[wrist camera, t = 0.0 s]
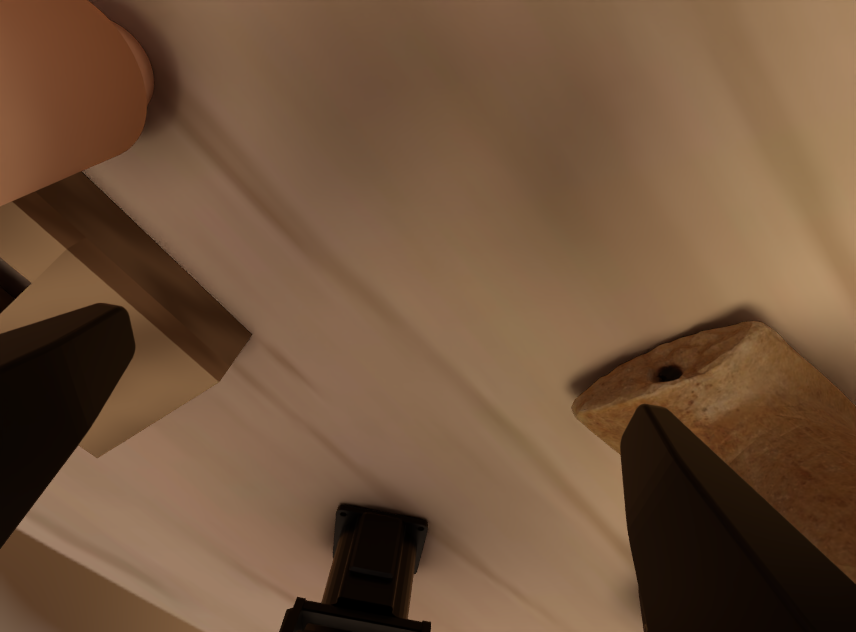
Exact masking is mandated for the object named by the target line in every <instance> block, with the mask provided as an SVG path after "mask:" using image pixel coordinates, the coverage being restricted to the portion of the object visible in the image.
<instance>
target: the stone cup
mask: <svg viewBox="0 0 856 632" xmlns="http://www.w3.org/2000/svg"><path fill="white" fill-rule="evenodd" d="M641 404H651V405H657V406H662V407H665V408H667V409H668V410H669V411H671V412H672V413H673V414H674V415H675V416H676V417H677V418H678V419H679V420H680V421H681V422H682V423H683V424H685V425H686V426H687V427H688V428H689V429H690V430H691V431H692V432H693V433H694V434H695V435H696V436H697V437H699V438H700V439H701V440H702V441H703V442H704V443H705V444H706V445H707V446H708V447H709V448H710V449H711V450H712V451H714V452H715V453H716V454H717V455H718V456H719V457H720V458H721V459H722V460H723V461H724V462H725V463H726V464H728V465H729V466H730V467H731V468H732V469H733V470H734V471H735V472H736V473H737V474H738V475H739V476H740V477H742V478H743V479H744V480H745V481H746V482H747V483H748V484H749V485H750V486H751V487H752V488H753V489H754V490H756V491H757V492H758V493H759V494H760V495H761V496H762V497H763V498H764V499H765V500H766V501H767V502H768V503H770V504H771V505H772V506H773V507H774V508H775V509H776V510H777V511H778V512H779V513H780V514H781V515H782V516H784V517H785V518H786V519H787V520H788V521H789V522H790V523H791V524H792V525H793V526H794V527H795V528H796V529H798V530H799V531H800V532H801V533H802V534H803V535H804V536H805V537H806V538H807V539H808V540H809V541H810V542H811V543H813V544H814V545H815V546H816V547H817V548H818V549H819V550H820V551H821V552H822V553H823V554H824V555H825V556H827V557H828V558H829V559H830V560H831V561H832V562H833V563H834V564H835V565H836V566H837V567H838V568H839V569H841V570H842V571H843V572H844V573H845V574H846V575H847V576H848V577H849V578H850V579H851V580H852V581H853V582H855V583H856V407H855V406H854V404H853V403H852V402H851V401H850V400H849V399H848V398H847V397H846V396H845V395H844V394H843V393H842V392H841V391H840V390H839V389H838V388H837V387H836V386H835V385H834V384H832V383H831V382H830V381H829V380H828V379H827V378H826V377H825V376H823V375H822V374H821V373H820V372H819V371H818V370H817V369H816V368H814V367H813V366H812V365H811V364H810V363H809V362H808V361H806V360H805V359H804V358H803V357H802V356H801V355H799V354H798V353H797V352H796V351H795V350H794V349H793V348H791V347H790V346H789V345H788V344H787V343H786V342H785V340H784V339H783V338H782V337H781V336H780V335H779V334H778V333H777V332H775V331H774V330H773V329H771V328H770V327H768V326H767V325H765V324H764V323H762V322H757V321H748V322H742V323H739V324H736V325H732V326H727V327H722V328H717V329H711V330H706V331H701V332H699V333H698V334H694V335H690V336H687V337H683V338H679V339H677V340H675V341H672V342H670V343H665V344H662V345H659V346H658V347H656V348H655V349H653V350H651V351H650V352H648V353H647V354H643V355H640V356H638V357H636V358H634V359H632V360H630V361H628V362H626V363H624V364H622V365H620V366H618V367H617V368H615V369H614V370H613V371H612V372H610V373H609V374H608V375H606V376H603V377H600V378H599V379H598V380H597V381H596V382H595V383H594V384H593V385H592V386H590V387H589V388H588V389H587V390H586V391H584V392H583V393H582V394H581V395H580V396H579V397H577V398H576V399H575V401H574V403H573V405H572V407H571V408H572V411H573V414H574V415H575V417H576V418H577V419H578V420H579V421H580V422H582V423H583V424H584V425H585V426H586V427H587V428H588V429H589V430H591V431H592V432H593V433H594V434H595V435H597V436H598V437H599V438H600V439H602V440H603V441H604V442H605V443H606V444H608V445H609V446H610V447H611V448H612V449H614V450H615V451H616V452H618V453H619V454H620V455H621V453H620V442H621V438H622V435H623V433H624V431H625V429H626V427H627V425H628V424H629V422H630V420H631V418H632V416H633V414H634V412H635V410H636V409H637V407H638V406H639V405H641Z"/></svg>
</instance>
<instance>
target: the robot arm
mask: <svg viewBox="0 0 856 632" xmlns="http://www.w3.org/2000/svg"><path fill="white" fill-rule="evenodd" d="M135 349H136V344H135V339H134V334H133V330H132V325H131V321H130V317H129V313H128V311H127V310H126V309H125V308H124V307H122V306H118V305H113V304H108V303H96V304H92V305H89V306H86V307H83V308H80V309H77V310H74V311H70V312H67V313H64V314H61V315H58V316H55V317H51V318H48V319H45V320H42V321H39V322H36V323H32V324H29V325H26V326H23V327H20V328H17V329H14V330H10V331H7V332H4V333H1V334H0V549H1V547H2V546H3V545H4V543H5V542H6V541H7V539H8V538H9V537H10V535H11V534H12V533H13V531H14V530H15V529H16V527H17V526H18V525H19V523H20V522H21V521H22V519H23V518H24V517H25V515H26V514H27V513H28V511H29V510H30V509H31V507H32V506H33V505H34V503H35V502H36V501H37V499H38V498H39V497H40V495H41V494H42V493H43V491H44V490H45V489H46V487H47V486H48V485H49V483H50V482H51V481H52V480H53V478H54V477H55V476H56V474H57V473H58V472H59V470H60V469H61V468H62V466H63V465H64V464H65V462H66V461H67V460H68V458H69V457H70V456H71V454H72V453H73V452H74V450H75V449H76V448H77V446H78V445H79V444H80V442H81V441H82V439H83V438H84V437H85V435H86V434H87V432H88V431H89V430H90V428H91V427H92V425H93V423H94V422H95V420H96V419H97V417H98V416H99V414H100V412H101V410H102V409H103V407H104V405H105V404H106V402H107V400H108V399H109V397H110V395H111V394H112V392H113V390H114V389H115V387H116V385H117V384H118V382H119V380H120V379H121V377H122V375H123V374H124V372H125V370H126V369H127V367H128V365H129V364H130V362H131V360H132V358H133V356H134V354H135ZM620 453H621V465H622V476H623V488H624V500H625V511H626V521H627V530H628V536H629V541H630V547H631V552H632V556H633V561H634V566H635V571H636V576H637V581H638V586H639V591H640V596H641V601H642V606H643V611H644V616H645V621H646V626H647V630H648V632H856V583H855V582H853V581H852V580H851V579H850V578H849V577H848V576H847V575H846V574H845V573H844V572H843V571H842V570H841V569H839V568H838V567H837V566H836V565H835V564H834V563H833V562H832V561H831V560H830V559H829V558H828V557H827V556H825V555H824V554H823V553H822V552H821V551H820V550H819V549H818V548H817V547H816V546H815V545H814V544H813V543H811V542H810V541H809V540H808V539H807V538H806V537H805V536H804V535H803V534H802V533H801V532H800V531H799V530H798V529H796V528H795V527H794V526H793V525H792V524H791V523H790V522H789V521H788V520H787V519H786V518H785V517H784V516H782V515H781V514H780V513H779V512H778V511H777V510H776V509H775V508H774V507H773V506H772V505H771V504H770V503H768V502H767V501H766V500H765V499H764V498H763V497H762V496H761V495H760V494H759V493H758V492H757V491H756V490H754V489H753V488H752V487H751V486H750V485H749V484H748V483H747V482H746V481H745V480H744V479H743V478H742V477H740V476H739V475H738V474H737V473H736V472H735V471H734V470H733V469H732V468H731V467H730V466H729V465H728V464H726V463H725V462H724V461H723V460H722V459H721V458H720V457H719V456H718V455H717V454H716V453H715V452H714V451H712V450H711V449H710V448H709V447H708V446H707V445H706V444H705V443H704V442H703V441H702V440H701V439H700V438H699V437H697V436H696V435H695V434H694V433H693V432H692V431H691V430H690V429H689V428H688V427H687V426H686V425H685V424H683V423H682V422H681V421H680V420H679V419H678V418H677V417H676V416H675V415H674V414H673V413H672V412H671V411H669V410H668V409H667V408H665V407H662V406H657V405H651V404H641V405H639V406H638V407H637V409H636V410H635V412H634V414H633V416H632V418H631V420H630V422H629V424H628V425H627V427H626V429H625V431H624V433H623V435H622V438H621V442H620ZM427 531H428V522H427V521H425V520H422V519H417V518H411V517H406V516H401V515H395V514H390V513H385V512H379V511H374V510H369V509H363V508H358V507H353V506H347V505H340V506H338V509H337V512H336V521H335V534H334V546H333V558H334V559H333V563H332V566H331V570H330V573H329V577H328V581H327V584H326V588H325V592H324V595H323V599H322V602H321V603H318V602H313V601H307V600H306V598H300V597H297V599H296V602H295V604H294V607H293V608H290V609H287V610H286V613H285V616H284V619H283V622H282V625H281V628H280V631H279V632H431V622H428V621H422V622H420V621H414V620H409V619H408V613H409V605H410V597H411V590H412V582H413V574H416V572H417V569H418V565H419V561H420V558H421V554H422V550H423V546H424V542H425V538H426V535H427Z"/></svg>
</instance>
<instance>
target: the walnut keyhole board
mask: <svg viewBox="0 0 856 632" xmlns="http://www.w3.org/2000/svg"><path fill="white" fill-rule="evenodd" d="M0 258H2V259H3V260H4V261H5V262H7V263H8V264H9V265H10V266H11V267H13V268H14V269H15V270H16V271H18V272H19V273H20V274H21V275H22V276H24V277H25V278H26V279H27V280H29V281H30V282H31V284H30V285H29V286H28V287H27V288H26V289H25V290H24V291H23V292H22V293H21V294H20V295H19V296H18V297H17V298H16V299H15V298H13V297H12V296H11V295H9V294H8V293H7V292H6V291H4V290H3V289H2V288H1V287H0V334H1V333H4V332H7V331H10V330H14V329H17V328H20V327H23V326H26V325H29V324H32V323H36V322H39V321H42V320H45V319H48V318H51V317H55V316H58V315H61V314H64V313H67V312H70V311H74V310H77V309H80V308H83V307H86V306H89V305H92V304H96V303H108V304H113V305H118V306H122V307H124V308H125V309H126V310H127V311H128V313H129V317H130V321H131V325H132V330H133V334H134V339H135V344H136V349H135V354H134V356H133V358H132V360H131V362H130V364H129V365H128V367H127V369H126V370H125V372H124V374H123V375H122V377H121V379H120V380H119V382H118V384H117V385H116V387H115V389H114V390H113V392H112V394H111V395H110V397H109V399H108V400H107V402H106V404H105V405H104V407H103V409H102V410H101V412H100V414H99V416H98V417H97V419H96V420H95V422H94V423H93V425H92V427H91V428H90V430H89V431H88V432H87V434H86V435H85V437H84V438H83V439H82V441H81V442H80V444H79V446H80V447H82V448H83V449H85V450H86V451H87V452H89V453H90V454H92V455H93V456H94V457H96V458H99V457H100V456H102V455H103V454H105V453H107V452H108V451H110V450H111V449H113V448H115V447H116V446H118V445H119V444H121V443H123V442H124V441H126V440H127V439H129V438H131V437H132V436H134V435H135V434H137V433H139V432H140V431H142V430H143V429H145V428H147V427H148V426H150V425H151V424H153V423H155V422H156V421H158V420H159V419H161V418H163V417H164V416H166V415H167V414H169V413H171V412H172V411H174V410H175V409H177V408H179V407H180V406H182V405H183V404H185V403H187V402H188V401H190V400H191V399H193V398H195V397H196V396H198V395H199V394H201V393H203V392H204V391H206V390H207V389H209V388H211V387H212V386H214V385H215V384H217V383H219V382H220V380H221V379H222V377H223V376H224V374H225V373H226V372H227V370H228V369H229V367H230V366H231V364H232V363H233V361H234V360H235V359H236V357H237V356H238V354H239V353H240V351H241V350H242V349H243V347H244V346H245V344H246V343H247V341H248V340H249V338H250V337H251V336H252V334H250V333H249V332H248V331H247V330H246V329H245V328H244V327H243V326H242V325H241V324H240V323H239V322H238V321H237V320H236V319H235V318H234V317H233V316H232V315H231V314H230V313H229V312H227V311H226V310H225V309H224V308H223V307H222V306H221V305H220V304H219V303H218V302H217V301H216V300H215V299H214V298H213V297H212V296H211V295H210V294H209V293H208V292H207V291H205V290H204V289H203V288H202V287H201V286H200V285H199V284H198V283H197V282H196V281H195V280H194V279H193V278H192V277H191V276H190V275H189V274H188V273H187V272H186V271H185V270H183V269H182V268H181V267H180V266H179V265H178V264H177V263H176V262H175V261H174V260H173V259H172V258H171V257H170V256H169V255H168V254H167V253H166V252H165V251H164V250H163V249H161V248H160V247H159V246H158V245H157V244H156V243H155V242H154V241H153V240H152V239H151V238H150V237H149V236H148V235H147V234H146V233H145V232H144V231H143V230H142V229H141V228H140V227H138V226H137V225H136V224H135V223H134V222H133V221H132V220H131V219H130V218H129V217H128V216H127V215H126V214H125V213H124V212H123V211H122V210H121V209H120V208H119V207H118V206H116V205H115V204H114V203H113V202H112V201H111V200H110V199H109V198H108V197H107V196H106V195H105V194H104V193H103V192H102V191H101V190H100V189H99V188H98V187H97V186H96V185H94V184H93V183H92V182H91V181H90V180H89V179H88V178H87V177H86V176H85V175H84V174H83V173H82V172H78V173H76V174H74V175H71V176H69V177H67V178H65V179H62V180H60V181H58V182H55V183H53V184H51V185H48V186H46V187H44V188H41V189H39V190H37V191H35V192H32V193H30V194H28V195H25V196H23V197H21V198H18V199H16V200H14V201H12V202H9V203H7V204H5V205H2V206H0Z"/></svg>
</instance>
